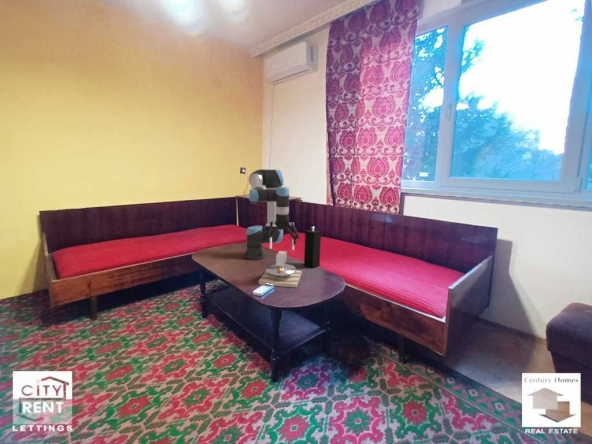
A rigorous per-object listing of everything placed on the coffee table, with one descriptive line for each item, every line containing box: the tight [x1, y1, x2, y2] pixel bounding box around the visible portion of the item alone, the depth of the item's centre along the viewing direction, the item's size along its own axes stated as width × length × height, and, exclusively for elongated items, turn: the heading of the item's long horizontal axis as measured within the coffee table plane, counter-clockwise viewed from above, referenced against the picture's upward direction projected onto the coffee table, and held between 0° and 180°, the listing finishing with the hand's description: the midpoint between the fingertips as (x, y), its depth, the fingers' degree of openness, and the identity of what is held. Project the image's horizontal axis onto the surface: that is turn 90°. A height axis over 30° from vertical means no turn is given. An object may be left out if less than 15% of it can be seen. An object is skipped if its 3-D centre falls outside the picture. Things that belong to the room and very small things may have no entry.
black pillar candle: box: [303, 225, 322, 269], centre depth 200 cm, size 8×8×28 cm
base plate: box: [258, 269, 302, 288], centre depth 177 cm, size 22×22×5 cm
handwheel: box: [265, 250, 297, 276], centre depth 175 cm, size 18×18×11 cm
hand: (281, 249), depth 173 cm, fingers open, 13 cm apart
